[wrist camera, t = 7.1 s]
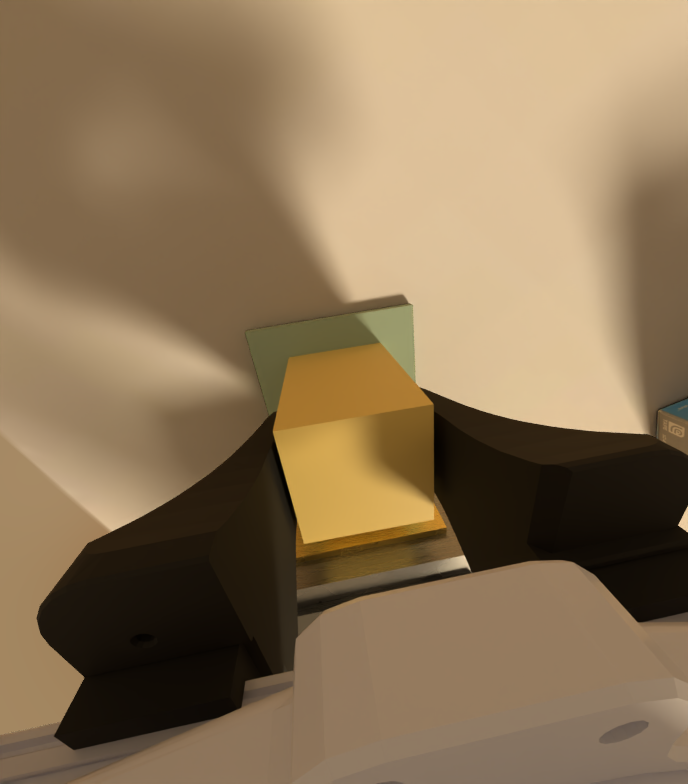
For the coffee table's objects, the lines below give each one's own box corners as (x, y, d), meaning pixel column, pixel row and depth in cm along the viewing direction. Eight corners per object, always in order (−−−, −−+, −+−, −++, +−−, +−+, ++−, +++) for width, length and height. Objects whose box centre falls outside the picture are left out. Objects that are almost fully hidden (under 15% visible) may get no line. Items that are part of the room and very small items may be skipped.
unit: (434, 536, 19) (488, 655, 13) (297, 564, 19) (293, 699, 13) (433, 445, 16) (504, 549, 10) (268, 476, 15) (246, 603, 10)
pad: (415, 438, 16) (417, 442, 15) (284, 462, 15) (284, 467, 15) (409, 303, 12) (412, 304, 12) (246, 330, 12) (244, 332, 12)
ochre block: (386, 421, 14) (433, 519, 9) (306, 435, 14) (304, 543, 9) (380, 342, 13) (433, 404, 7) (288, 357, 12) (272, 431, 7)
